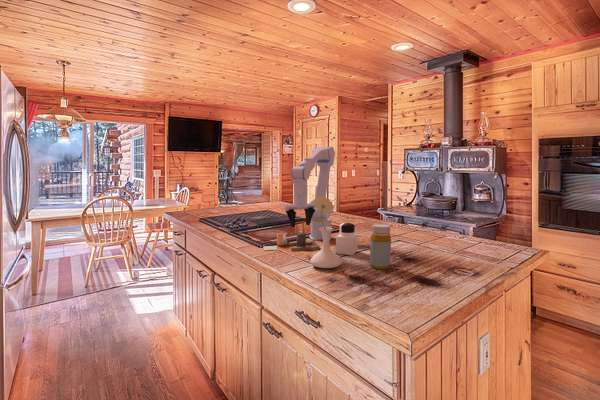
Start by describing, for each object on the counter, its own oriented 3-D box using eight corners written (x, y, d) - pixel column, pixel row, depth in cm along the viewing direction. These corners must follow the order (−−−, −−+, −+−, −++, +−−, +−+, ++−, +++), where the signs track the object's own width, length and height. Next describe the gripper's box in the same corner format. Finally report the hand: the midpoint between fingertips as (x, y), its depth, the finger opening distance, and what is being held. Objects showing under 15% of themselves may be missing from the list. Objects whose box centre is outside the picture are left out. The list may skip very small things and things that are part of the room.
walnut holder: (314, 243, 154) (314, 241, 153) (319, 249, 144) (319, 246, 144) (288, 244, 152) (288, 242, 151) (291, 250, 142) (291, 248, 142)
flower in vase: (348, 267, 120) (349, 197, 117) (322, 273, 114) (323, 199, 111) (326, 258, 131) (326, 193, 128) (301, 263, 125) (301, 195, 122)
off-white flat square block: (276, 246, 149) (276, 245, 149) (277, 250, 143) (277, 249, 143) (263, 247, 148) (263, 246, 148) (264, 250, 142) (264, 250, 142)
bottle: (367, 264, 124) (368, 223, 122) (386, 263, 125) (387, 223, 123) (373, 270, 117) (374, 227, 115) (392, 269, 118) (394, 227, 116)
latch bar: (284, 239, 160) (284, 229, 160) (287, 245, 150) (287, 234, 150) (275, 240, 160) (275, 229, 159) (277, 245, 150) (277, 234, 149)
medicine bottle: (357, 251, 141) (358, 222, 140) (352, 255, 135) (353, 225, 133) (341, 249, 144) (341, 221, 143) (335, 253, 138) (335, 224, 136)
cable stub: (305, 245, 150) (305, 232, 149) (306, 248, 146) (306, 234, 145) (296, 246, 149) (296, 232, 148) (297, 248, 145) (297, 234, 144)
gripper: (309, 192, 152) (309, 222, 154) (280, 194, 144) (281, 226, 146) (318, 194, 146) (318, 225, 148) (289, 196, 138) (289, 228, 140)
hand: (300, 225), depth 146 cm, fingers open, 7 cm apart
